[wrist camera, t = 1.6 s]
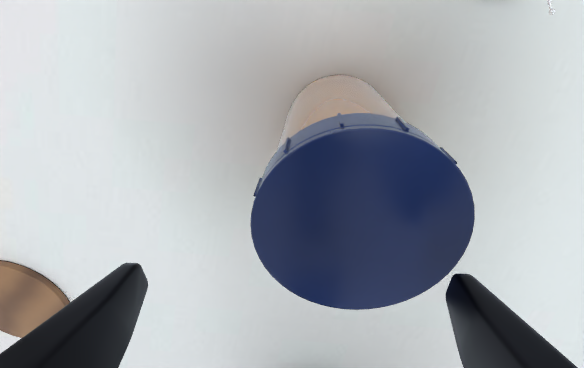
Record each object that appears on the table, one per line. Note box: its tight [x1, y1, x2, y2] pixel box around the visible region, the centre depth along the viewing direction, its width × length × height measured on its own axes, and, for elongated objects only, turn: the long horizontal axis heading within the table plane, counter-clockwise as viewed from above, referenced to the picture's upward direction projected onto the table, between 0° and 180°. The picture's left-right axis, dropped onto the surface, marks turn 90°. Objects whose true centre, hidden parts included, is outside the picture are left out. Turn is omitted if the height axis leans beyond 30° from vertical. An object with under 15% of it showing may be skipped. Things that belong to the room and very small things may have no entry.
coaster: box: [0, 261, 69, 338], centre depth 31 cm, size 11×11×1 cm
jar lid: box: [251, 113, 475, 310], centre depth 11 cm, size 7×7×2 cm
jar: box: [277, 75, 405, 151], centre depth 16 cm, size 7×7×12 cm
